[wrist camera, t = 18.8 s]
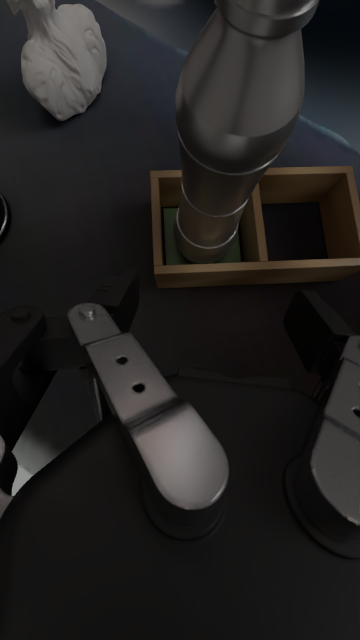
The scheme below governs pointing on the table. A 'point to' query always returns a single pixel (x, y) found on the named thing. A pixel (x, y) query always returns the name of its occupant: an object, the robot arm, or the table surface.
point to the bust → (61, 56)
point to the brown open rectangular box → (274, 187)
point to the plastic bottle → (235, 115)
